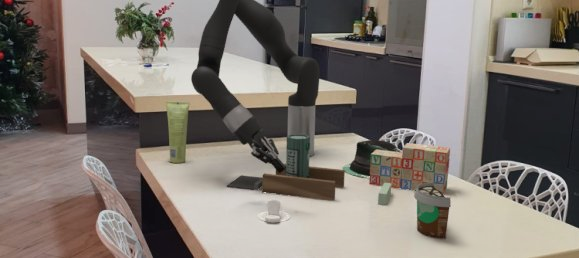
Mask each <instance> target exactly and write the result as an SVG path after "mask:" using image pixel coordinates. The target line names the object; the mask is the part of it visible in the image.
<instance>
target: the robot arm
mask: <svg viewBox="0 0 579 258" xmlns="http://www.w3.org/2000/svg"><path fill="white" fill-rule="evenodd" d="M234 16H236V17H237V18H238V20H239V21H240V22H241V23H242V24H243V25H244V26H245V27H246V29H247V30H248V32H249V33H250V35H252V37H254V39H255V40H256V41H257V42H258V44H260V45H261V47H262V48H263V49H264V50H265V52H267V54H268V55H269V56H270V57H271V59H272V60H273V61H274V63H275V64H276V66H277V67H278V69H280V71H281V73H282V75H283V76H284V78H286V80H287V81H288V82H290V83H291V84H292V83H293V84H296V85H297V86H296V87H297V88H296V92H295V93H293V94H290V95H289V96H288V100H287V107H288V108H287V136H288V135H292V134H303V135H308V136H310V152H309V157H312V156H314V155H315V135H316V134H315V127H316V103H317V102H316V101H317V99H318V95H319V89H320V88H319V85H320V73H321V71H320V65H319V63H318V61H317V60H316V59H314V58H312V57H306V56H299V55H297V53H295V51H294V50H292V48H291V47H290V45H288V42H287V40H286V39H287V38H286V35H285V30H284V26H283V25H282V23H281V22H280V20H279V19H278V18H277V17H276V15H275V14H274V13H273V12H272V10H270V9H269V8H267V7H266V6H265V5H263V4H262V3H260V2H258V1H256V0H219V1H218V2H217V5H216V7H215V9H214V11H213V12H212V14H211V15H210V17H209V19H208V20H207V22H206V24H205V26H204V29H203V31H202V33H201V40H200V44H199V46H198V61H197V64H196V65H197V66H196V68H195V69H194V70H193V72H192V73H191V78H190V79H191V84H192V87H193V89H194V91H195V92H196V93H198V94H200V95H202V97H203V98H205V101H207V102H208V103H209V104H210V106H211V108H212V110H213V111H214V112H215V114H217V116H218V117H219V118H220V119H221V120H222V122H223V123H224V124H225V126H226V127H227V128H228V130H229V131H230V132H231V133H232V134H233V135H234V137H235V138H236V139H237V140H238V141H239V142H240V143H241V144H242V145H244V146H245V145H247V144H248V145H249V147H250V148H251V150H252V151H251V152H250V154H251V155H252V156H253V157H255V158H256V159H258V160H259V161H261V162H263V163H265V164H266V165H267V164H271V166H272V167H273V168H274V169H275V171H276V170H277V171H278V172H279V173H281V172H282V171H283V170H285V169H286V166H285V165H284V164H285V163H284V162H282V160H281V159H280V158H279V155H280V153H279V151H278V148H277V146H276V144H275V142H274V140H273V139H272V138H269V139H268V137H266V136H265V135H264V134H263V133H262V131H263V129H264V127H263V126H262V124H261V123H260V122H259V121H258V120H257V118H255V116H254V115H253V114H252V113H251V112H250V111H249V109H247V108H246V107H245V106H244V105H243V104H242V103H241V102H240V101H239V100H238V98H237V97H236V96H235V95H234V94H233V93H232V92H231V91H230V90H229V89H228V87H227V86H226V85H225V83H224V82H223V81H222V79H221V78H220V71H221V64H222V63H221V62H222V60H223V56H224V52H225V48H226V44H227V39H228V35H229V32H230V31H229V30H230V28H231V24H232V22H233V19H234Z"/></svg>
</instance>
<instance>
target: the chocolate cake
mask: <svg viewBox="0 0 579 258" xmlns="http://www.w3.org/2000/svg"><path fill="white" fill-rule="evenodd" d="M397 149H398V147H397V146H396V145H395V144H394V143H392V142H389V141H384V140H379V139H368V140H362V141H359V142H357V143H356V151H355V155H354V159H353V160H352V162H350V163H348V164H346V165H344V166H343V167H342V170H345V173H347V174H348V175H353V176H356V177H361V178H365V179H368V178H367V177H369V176H370V165H371V164H370V161H371V154H372V153H373V152H374V151H375V150H385V151H393V152H397ZM356 174H357V175H356ZM361 175H364V176H365V177H364V176H361Z"/></svg>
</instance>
